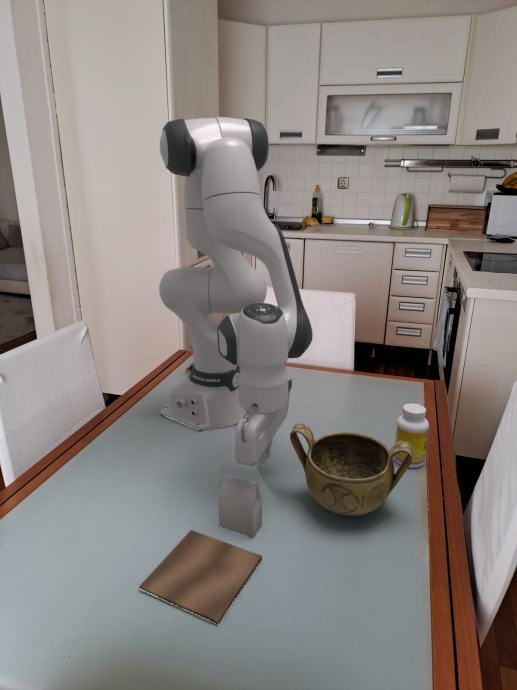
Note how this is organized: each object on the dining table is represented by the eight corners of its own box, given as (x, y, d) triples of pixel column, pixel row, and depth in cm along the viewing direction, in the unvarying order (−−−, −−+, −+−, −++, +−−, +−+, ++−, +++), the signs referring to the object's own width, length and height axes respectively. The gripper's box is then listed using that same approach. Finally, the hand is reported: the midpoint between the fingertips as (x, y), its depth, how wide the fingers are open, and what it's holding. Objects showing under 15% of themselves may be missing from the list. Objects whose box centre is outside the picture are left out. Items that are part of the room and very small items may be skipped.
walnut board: (139, 590, 76) (139, 586, 75) (191, 533, 87) (191, 529, 87) (217, 625, 70) (217, 621, 69) (262, 559, 81) (262, 555, 81)
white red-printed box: (253, 538, 86) (252, 490, 83) (219, 527, 89) (217, 480, 85) (262, 525, 89) (261, 478, 86) (229, 515, 92) (227, 469, 89)
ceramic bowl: (278, 517, 91) (278, 446, 86) (301, 467, 106) (303, 405, 101) (402, 545, 84) (411, 470, 79) (409, 488, 99) (416, 422, 94)
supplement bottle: (426, 470, 105) (432, 416, 101) (394, 467, 106) (399, 414, 102) (423, 454, 111) (429, 402, 107) (392, 451, 112) (397, 400, 108)
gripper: (260, 422, 79) (261, 495, 84) (295, 375, 97) (293, 437, 102) (224, 416, 81) (227, 487, 86) (264, 371, 99) (265, 432, 104)
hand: (263, 459), depth 94 cm, fingers closed
